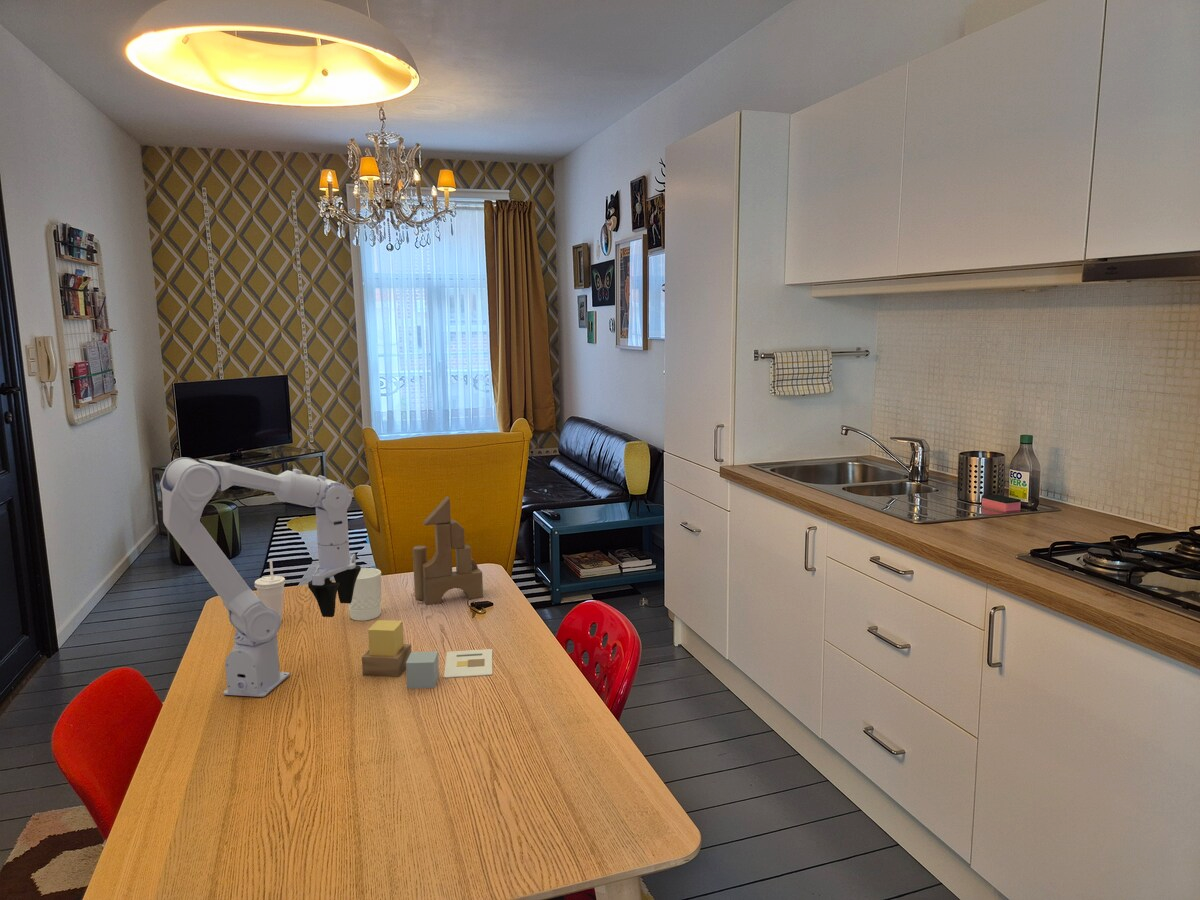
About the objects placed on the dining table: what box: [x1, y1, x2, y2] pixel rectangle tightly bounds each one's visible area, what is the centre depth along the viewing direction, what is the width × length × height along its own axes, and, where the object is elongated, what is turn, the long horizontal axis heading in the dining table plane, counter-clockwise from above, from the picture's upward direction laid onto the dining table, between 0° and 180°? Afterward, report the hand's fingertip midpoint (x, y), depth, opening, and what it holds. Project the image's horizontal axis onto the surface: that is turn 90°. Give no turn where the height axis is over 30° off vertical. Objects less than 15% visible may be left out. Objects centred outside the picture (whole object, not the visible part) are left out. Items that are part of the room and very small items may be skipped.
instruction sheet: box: [443, 648, 493, 679], centre depth 160 cm, size 12×9×1 cm
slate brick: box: [405, 650, 440, 690], centre depth 151 cm, size 5×5×5 cm
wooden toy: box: [412, 495, 484, 606], centre depth 196 cm, size 16×7×25 cm, turn 111°
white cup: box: [347, 567, 382, 622], centre depth 186 cm, size 8×8×10 cm
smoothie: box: [254, 560, 286, 621], centre depth 182 cm, size 6×6×14 cm
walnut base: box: [361, 643, 412, 678], centre depth 157 cm, size 7×7×4 cm
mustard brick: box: [367, 619, 405, 656], centre depth 157 cm, size 5×5×5 cm
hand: (337, 609), depth 160 cm, fingers open, 7 cm apart
